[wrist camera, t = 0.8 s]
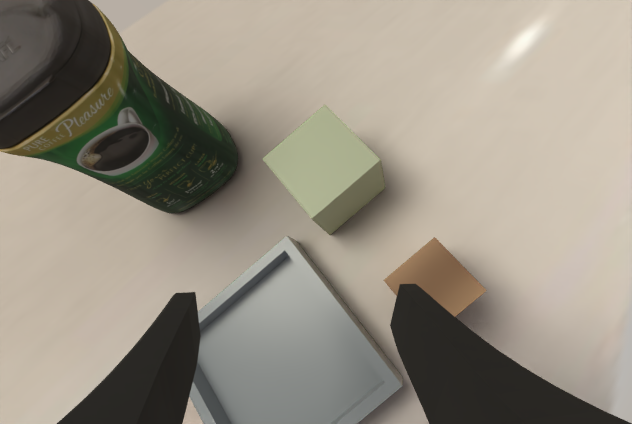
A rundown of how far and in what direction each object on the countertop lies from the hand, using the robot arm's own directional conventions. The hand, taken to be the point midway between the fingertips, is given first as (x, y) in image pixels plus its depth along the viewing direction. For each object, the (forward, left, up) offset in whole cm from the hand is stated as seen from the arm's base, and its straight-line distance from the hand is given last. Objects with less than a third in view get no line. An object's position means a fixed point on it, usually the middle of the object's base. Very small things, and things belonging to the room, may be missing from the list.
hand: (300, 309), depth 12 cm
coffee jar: (+20, +4, -15) cm, 25 cm away
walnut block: (-2, -5, -15) cm, 16 cm away
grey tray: (+1, +7, -15) cm, 17 cm away
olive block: (+9, -5, -15) cm, 18 cm away
